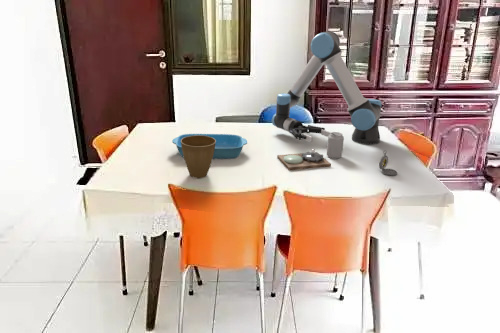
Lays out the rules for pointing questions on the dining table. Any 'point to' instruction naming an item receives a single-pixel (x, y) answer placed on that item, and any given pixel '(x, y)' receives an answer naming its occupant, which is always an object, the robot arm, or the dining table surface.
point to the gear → (312, 156)
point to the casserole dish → (219, 145)
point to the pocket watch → (384, 162)
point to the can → (335, 145)
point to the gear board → (303, 163)
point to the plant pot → (198, 154)
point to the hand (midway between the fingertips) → (321, 137)
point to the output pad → (292, 159)
